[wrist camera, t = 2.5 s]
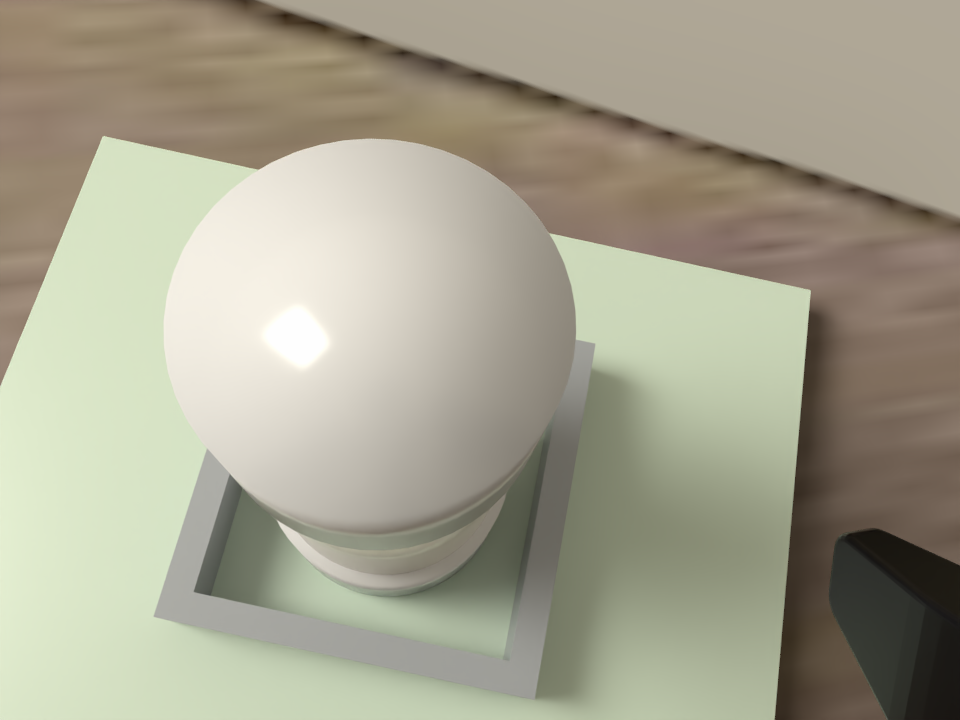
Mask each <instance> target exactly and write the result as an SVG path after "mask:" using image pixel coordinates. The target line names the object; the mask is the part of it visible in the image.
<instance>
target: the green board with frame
mask: <svg viewBox="0 0 960 720" xmlns="http://www.w3.org/2000/svg"><path fill="white" fill-rule="evenodd" d="M256 171H258V170H256V169H252V168H247V167H243V166H238V165H233V164H229V163H224V162H220V161H215V160H210V159H206V158H201V157H197V156H192V155H187V154H183V153H178V152H174V151H169V150H165V149H160V148H155V147H151V146H146V145H142V144H137V143H132V142H128V141H123V140H119V139H114V138H110V137H105V136H103V138H102V140H101V143H100V145H99V148H98V150H97V152H96V155H95V157H94V160H93V162H92V165H91V167H90V169H89V172H88V174H87V177H86V179H85V182H84V184H83V187H82V189H81V191H80V194H79V196H78V199H77V201H76V204H75V206H74V208H73V211H72V213H71V216H70V218H69V221H68V223H67V226H66V228H65V230H64V233H63V235H62V238H61V240H60V243H59V245H58V247H57V250H56V252H55V255H54V257H53V260H52V262H51V264H50V267H49V269H48V272H47V274H46V277H45V279H44V282H43V284H42V286H41V289H40V291H39V294H38V296H37V299H36V301H35V303H34V306H33V308H32V311H31V313H30V316H29V318H28V321H27V323H26V325H25V328H24V330H23V333H22V335H21V338H20V340H19V342H18V345H17V347H16V350H15V352H14V355H13V357H12V360H11V362H10V364H9V367H8V369H7V372H6V374H5V377H4V379H3V381H2V384H1V386H0V720H775V709H776V697H777V685H778V673H779V661H780V649H781V637H782V625H783V614H784V602H785V590H786V578H787V566H788V554H789V542H790V530H791V519H792V507H793V495H794V483H795V471H796V459H797V447H798V436H799V424H800V412H801V400H802V388H803V376H804V364H805V352H806V341H807V329H808V317H809V305H810V293H811V290H807V289H802V288H798V287H793V286H788V285H784V284H779V283H775V282H770V281H766V280H761V279H756V278H752V277H747V276H743V275H738V274H733V273H729V272H724V271H720V270H715V269H711V268H706V267H701V266H697V265H692V264H688V263H683V262H678V261H674V260H669V259H665V258H660V257H655V256H651V255H646V254H642V253H637V252H633V251H628V250H623V249H619V248H614V247H610V246H605V245H600V244H596V243H591V242H587V241H582V240H577V239H573V238H568V237H564V236H559V235H555V234H550V233H549V234H550V236H551V237H552V239H553V241H554V243H555V245H556V247H557V249H558V251H559V253H560V255H561V257H562V259H563V262H564V264H565V267H566V270H567V274H568V277H569V280H570V283H571V287H572V292H573V298H574V304H575V311H576V341H575V350H574V359H573V363H572V367H571V371H570V375H569V379H568V383H567V385H566V388H565V390H564V393H563V395H562V398H561V400H560V403H559V405H558V407H557V409H556V411H555V413H554V415H553V416H552V418H551V420H550V422H549V424H548V426H547V427H546V429H545V431H544V433H543V435H542V437H541V438H540V440H539V442H538V444H537V446H536V448H535V449H534V451H533V453H532V455H531V457H530V458H529V460H528V462H527V464H526V465H525V467H524V469H523V471H522V472H521V474H520V476H519V477H518V478H517V480H516V481H515V482H514V483H513V485H512V486H511V487H510V489H509V490H508V491H507V493H506V496H505V500H504V503H503V505H502V508H501V510H500V513H499V515H498V517H497V519H496V521H495V523H494V524H493V526H492V528H491V530H490V532H489V534H488V535H487V537H486V539H485V541H484V542H483V544H482V546H481V548H480V549H479V550H478V551H477V553H476V554H475V555H474V557H473V558H472V559H471V560H470V561H469V562H468V563H467V564H466V565H465V566H464V567H463V568H462V569H461V570H460V571H459V572H457V573H456V574H455V575H453V576H452V577H451V578H449V579H447V580H446V581H444V582H442V583H441V584H439V585H437V586H435V587H432V588H430V589H427V590H425V591H422V592H418V593H414V594H410V595H404V596H396V597H379V596H373V595H366V594H362V593H358V592H355V591H352V590H349V589H347V588H345V587H342V586H340V585H338V584H336V583H334V582H333V581H331V580H330V579H328V578H326V577H325V576H324V575H322V574H321V573H320V572H319V571H318V570H316V569H315V568H314V567H313V566H312V565H311V564H310V563H309V562H308V560H307V559H306V558H305V557H304V556H303V555H302V554H301V553H300V552H299V550H298V549H297V548H296V547H295V546H294V545H293V544H292V543H291V542H290V540H289V539H288V538H287V536H286V535H285V533H284V532H283V530H282V529H281V527H280V526H279V524H278V522H277V520H276V519H275V518H273V517H272V516H271V515H270V514H269V513H267V512H266V511H265V510H264V509H263V508H261V507H260V506H259V505H258V504H257V503H256V502H255V501H254V500H253V499H252V498H251V497H250V496H249V494H248V493H247V492H246V491H245V490H244V489H243V488H242V487H241V486H240V485H239V483H238V482H237V481H236V480H235V479H234V478H233V477H232V476H231V474H230V473H229V472H228V471H227V470H226V469H225V468H224V467H223V466H222V464H221V463H220V462H219V461H218V460H217V459H216V458H215V457H214V455H213V454H212V453H211V452H210V451H209V450H208V449H207V448H206V447H205V445H204V444H203V443H202V442H201V440H200V439H199V437H198V436H197V434H196V433H195V431H194V430H193V429H192V427H191V426H190V424H189V423H188V421H187V419H186V417H185V415H184V413H183V411H182V409H181V407H180V405H179V403H178V401H177V399H176V396H175V393H174V390H173V387H172V384H171V380H170V377H169V374H168V370H167V363H166V357H165V351H164V314H165V306H166V298H167V294H168V290H169V286H170V283H171V279H172V276H173V272H174V270H175V267H176V265H177V263H178V260H179V258H180V256H181V254H182V251H183V249H184V247H185V246H186V244H187V242H188V241H189V239H190V237H191V236H192V234H193V232H194V231H195V229H196V227H197V226H198V225H199V224H200V222H201V221H202V220H203V219H204V217H205V216H206V215H207V214H208V212H209V211H210V210H211V209H212V207H213V206H214V205H216V204H217V203H218V202H219V201H220V200H221V199H222V198H223V197H224V196H225V195H226V194H227V193H228V192H229V191H230V190H231V189H233V188H234V187H235V186H237V185H238V184H239V183H240V182H242V181H243V180H244V179H246V178H247V177H248V176H250V175H251V174H253V173H255V172H256Z"/></svg>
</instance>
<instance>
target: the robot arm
mask: <svg viewBox="0 0 960 720" xmlns="http://www.w3.org/2000/svg"><path fill="white" fill-rule="evenodd" d="M829 601H830V606H831V609H832V612H833V615H834V617H835V619H836V621H837V623H838V625H839V627H840V629H841V631H842V633H843V635H844V636H845V638H846V640H847V642H848V644H849V646H850V648H851V650H852V652H853V654H854V656H855V658H856V660H857V662H858V664H859V666H860V668H861V670H862V672H863V674H864V676H865V677H866V679H867V681H868V683H869V685H870V687H871V689H872V691H873V693H874V695H875V697H876V699H877V701H878V703H879V705H880V707H881V709H882V711H883V713H884V715H885V716H886V718H887V720H960V565H958V564H955V563H953V562H951V561H949V560H947V559H944V558H942V557H940V556H938V555H936V554H933V553H931V552H929V551H927V550H925V549H923V548H920V547H918V546H916V545H914V544H912V543H909V542H907V541H905V540H903V539H901V538H898V537H896V536H894V535H892V534H890V533H887V532H885V531H883V530H880V529H876V528H869V529H864V530H858V531H853V532H847V533H844V534H842V535H840V536H839V537H838V539H837V541H836V543H835V548H834V555H833V563H832V571H831V579H830V587H829Z"/></svg>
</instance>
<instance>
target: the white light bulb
mask: <svg viewBox="0 0 960 720" xmlns="http://www.w3.org/2000/svg"><path fill="white" fill-rule="evenodd" d="M575 341H576V311H575V304H574V298H573V292H572V287H571V283H570V280H569V277H568V274H567V270H566V267H565V264H564V262H563V259H562V257H561V255H560V253H559V251H558V249H557V247H556V245H555V243H554V241H553V239H552V237H551V236H550V234H549V233H548V231H547V230H546V228H545V227H544V225H543V223H542V222H541V220H540V219H539V218H538V217H537V216H536V215H535V213H534V212H533V211H532V210H531V209H530V207H529V206H528V205H527V204H526V203H525V202H524V201H523V200H522V199H521V198H520V197H519V196H518V195H517V194H516V193H515V192H513V191H512V190H511V189H510V188H509V187H508V186H507V185H506V184H504V183H503V182H501V181H500V180H499V179H497V178H496V177H494V176H493V175H492V174H490V173H489V172H487V171H486V170H484V169H482V168H480V167H478V166H476V165H475V164H473V163H471V162H469V161H467V160H465V159H463V158H460V157H458V156H456V155H453V154H451V153H448V152H446V151H443V150H440V149H436V148H433V147H429V146H425V145H422V144H417V143H411V142H405V141H399V140H386V139H358V140H344V141H339V142H333V143H328V144H322V145H318V146H315V147H311V148H308V149H305V150H301V151H298V152H295V153H293V154H290V155H288V156H286V157H283V158H281V159H279V160H276V161H274V162H272V163H270V164H269V165H267V166H265V167H263V168H262V169H260V170H258V171H256V172H255V173H253V174H251V175H250V176H248V177H247V178H246V179H244V180H243V181H242V182H240V183H239V184H238V185H237V186H235V187H234V188H233V189H231V190H230V191H229V192H228V193H227V194H226V195H225V196H224V197H223V198H222V199H221V200H220V201H219V202H218V203H217V204H216V205H214V206H213V207H212V209H211V210H210V211H209V212H208V214H207V215H206V216H205V217H204V219H203V220H202V221H201V222H200V224H199V225H198V226H197V227H196V229H195V231H194V232H193V234H192V236H191V237H190V239H189V241H188V242H187V244H186V246H185V247H184V249H183V251H182V254H181V256H180V258H179V260H178V263H177V265H176V267H175V270H174V272H173V276H172V279H171V283H170V286H169V290H168V294H167V298H166V306H165V314H164V351H165V357H166V363H167V370H168V374H169V377H170V380H171V384H172V387H173V390H174V393H175V396H176V399H177V401H178V403H179V405H180V407H181V409H182V411H183V413H184V415H185V417H186V419H187V421H188V423H189V424H190V426H191V427H192V429H193V430H194V431H195V433H196V434H197V436H198V437H199V439H200V440H201V442H202V443H203V444H204V445H205V447H206V448H207V449H208V450H209V451H210V452H211V453H212V454H213V455H214V457H215V458H216V459H217V460H218V461H219V462H220V463H221V464H222V466H223V467H224V468H225V469H226V470H227V471H228V472H229V473H230V474H231V476H232V477H233V478H234V479H235V480H236V481H237V482H238V483H239V485H240V486H241V487H242V488H243V489H244V490H245V491H246V492H247V493H248V494H249V496H250V497H251V498H252V499H253V500H254V501H255V502H256V503H257V504H258V505H259V506H260V507H261V508H263V509H264V510H265V511H266V512H267V513H269V514H270V515H271V516H272V517H273V518H275V519H276V520H277V522H278V524H279V526H280V527H281V529H282V530H283V532H284V533H285V535H286V536H287V538H288V539H289V540H290V542H291V543H292V544H293V545H294V546H295V547H296V548H297V549H298V550H299V552H300V553H301V554H302V555H303V556H304V557H305V558H306V559H307V560H308V562H309V563H310V564H311V565H312V566H313V567H314V568H315V569H316V570H318V571H319V572H320V573H321V574H322V575H324V576H325V577H326V578H328V579H330V580H331V581H333V582H334V583H336V584H338V585H340V586H342V587H345V588H347V589H349V590H352V591H355V592H358V593H362V594H366V595H373V596H379V597H396V596H404V595H410V594H414V593H418V592H422V591H425V590H427V589H430V588H432V587H435V586H437V585H439V584H441V583H442V582H444V581H446V580H447V579H449V578H451V577H452V576H453V575H455V574H456V573H457V572H459V571H460V570H461V569H462V568H463V567H464V566H465V565H466V564H467V563H468V562H469V561H470V560H471V559H472V558H473V557H474V555H475V554H476V553H477V551H478V550H479V549H480V548H481V546H482V544H483V542H484V541H485V539H486V537H487V535H488V534H489V532H490V530H491V528H492V526H493V524H494V523H495V521H496V519H497V517H498V515H499V513H500V510H501V508H502V505H503V503H504V500H505V496H506V493H507V491H508V490H509V489H510V487H511V486H512V485H513V483H514V482H515V481H516V480H517V478H518V477H519V476H520V474H521V472H522V471H523V469H524V467H525V465H526V464H527V462H528V460H529V458H530V457H531V455H532V453H533V451H534V449H535V448H536V446H537V444H538V442H539V440H540V438H541V437H542V435H543V433H544V431H545V429H546V427H547V426H548V424H549V422H550V420H551V418H552V416H553V415H554V413H555V411H556V409H557V407H558V405H559V403H560V400H561V398H562V395H563V393H564V390H565V388H566V385H567V383H568V379H569V375H570V371H571V367H572V363H573V359H574V350H575Z"/></svg>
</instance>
